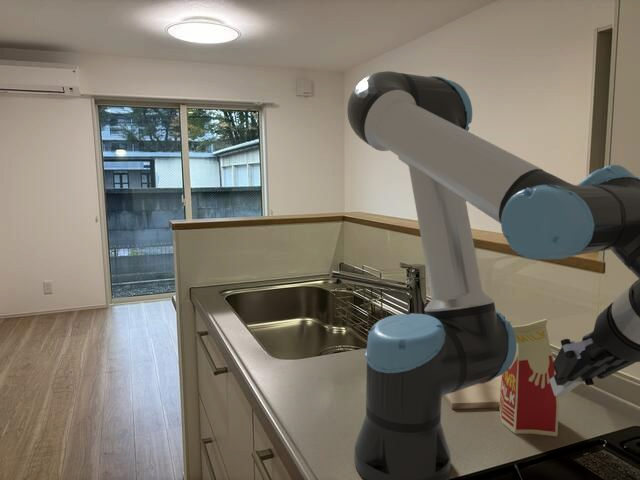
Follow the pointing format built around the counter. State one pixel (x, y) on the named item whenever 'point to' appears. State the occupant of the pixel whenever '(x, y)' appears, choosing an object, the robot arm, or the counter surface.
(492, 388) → the board
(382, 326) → the robot arm
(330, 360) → the counter surface
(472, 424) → the counter surface
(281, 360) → the counter surface
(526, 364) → the milk carton
